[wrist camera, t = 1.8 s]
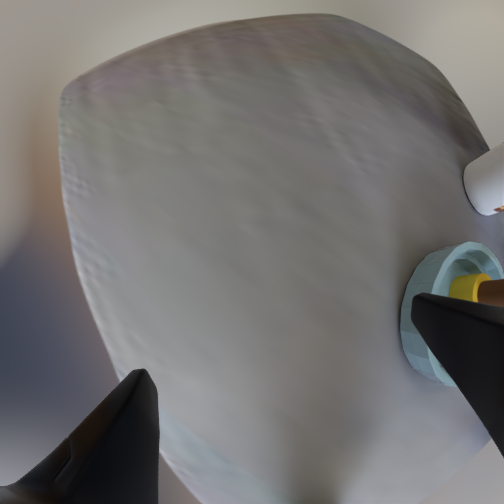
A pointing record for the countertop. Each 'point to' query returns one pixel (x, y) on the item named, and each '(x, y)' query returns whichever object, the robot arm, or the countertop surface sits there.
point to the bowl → (438, 282)
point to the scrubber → (478, 289)
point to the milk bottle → (486, 181)
